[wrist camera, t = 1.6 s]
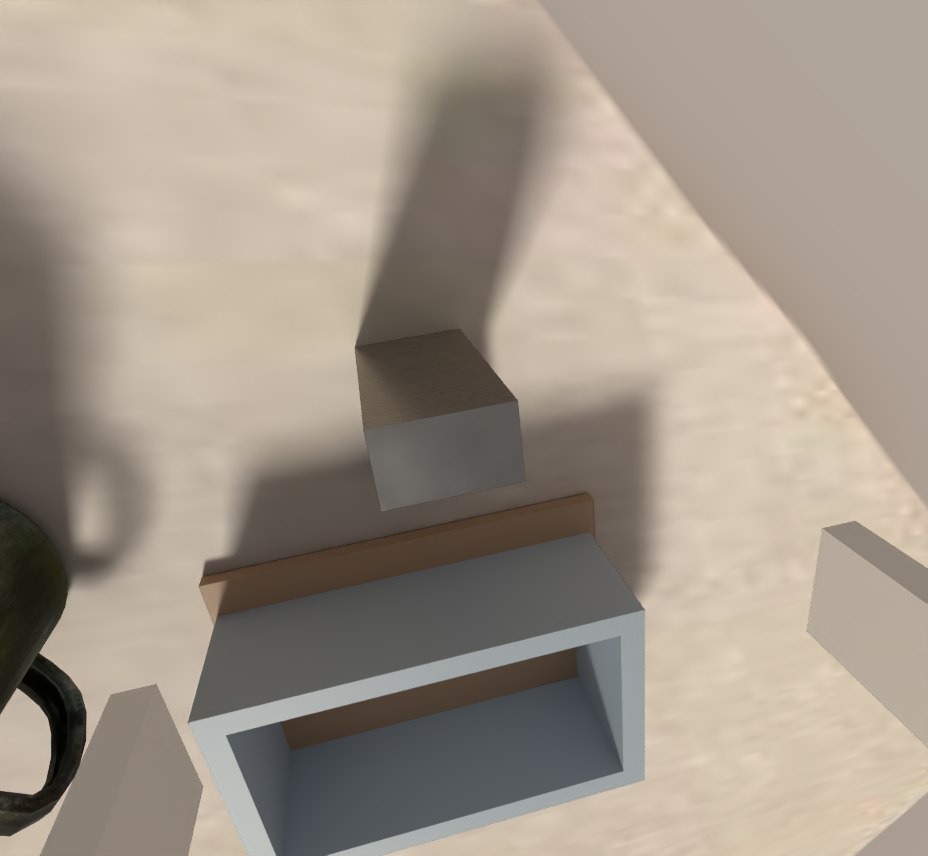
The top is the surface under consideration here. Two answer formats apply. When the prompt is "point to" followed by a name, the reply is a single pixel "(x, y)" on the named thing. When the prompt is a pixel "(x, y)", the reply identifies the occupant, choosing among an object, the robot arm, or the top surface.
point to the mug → (36, 660)
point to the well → (421, 683)
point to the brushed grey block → (436, 420)
